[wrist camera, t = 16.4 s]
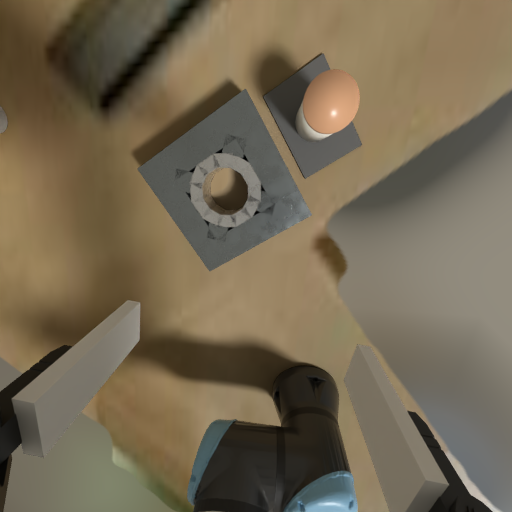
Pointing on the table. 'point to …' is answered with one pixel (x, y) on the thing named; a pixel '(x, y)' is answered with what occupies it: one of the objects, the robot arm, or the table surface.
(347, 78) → the capped white peg
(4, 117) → the house plant
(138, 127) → the table surface
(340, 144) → the rubber mat
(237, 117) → the housing
